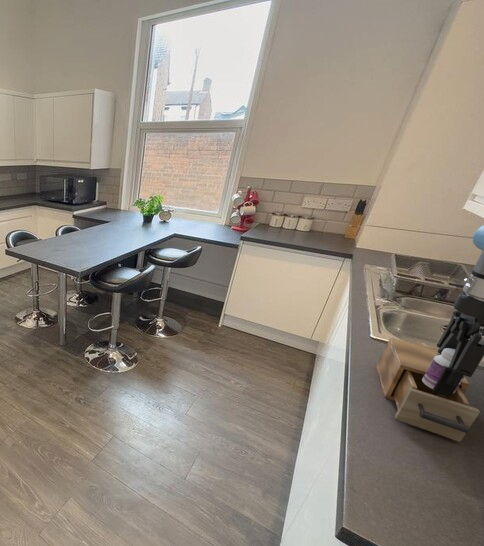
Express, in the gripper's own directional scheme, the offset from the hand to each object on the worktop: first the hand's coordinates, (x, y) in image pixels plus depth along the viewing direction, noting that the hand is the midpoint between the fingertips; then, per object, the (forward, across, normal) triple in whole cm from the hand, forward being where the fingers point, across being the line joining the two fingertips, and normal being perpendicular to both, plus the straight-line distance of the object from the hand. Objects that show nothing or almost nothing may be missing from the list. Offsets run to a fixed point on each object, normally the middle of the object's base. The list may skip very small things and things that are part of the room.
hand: (437, 385), depth 73 cm
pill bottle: (0, 0, 0) cm, 1 cm away
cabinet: (+10, -12, 0) cm, 16 cm away
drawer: (+9, +1, 0) cm, 9 cm away
